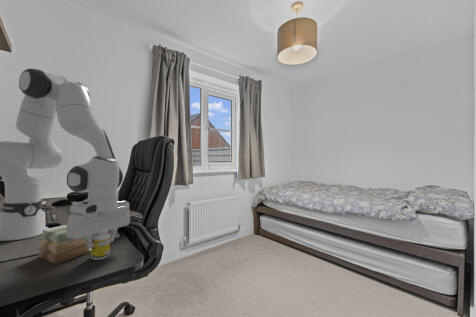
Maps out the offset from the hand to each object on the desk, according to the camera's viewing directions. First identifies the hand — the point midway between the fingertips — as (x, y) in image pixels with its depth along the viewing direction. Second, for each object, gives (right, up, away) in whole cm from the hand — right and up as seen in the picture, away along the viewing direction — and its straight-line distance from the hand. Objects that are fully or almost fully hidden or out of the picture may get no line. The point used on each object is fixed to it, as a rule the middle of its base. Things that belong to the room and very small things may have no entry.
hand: (100, 244), depth 74 cm
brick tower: (-13, -4, +1) cm, 13 cm away
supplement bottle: (0, -4, 0) cm, 4 cm away
